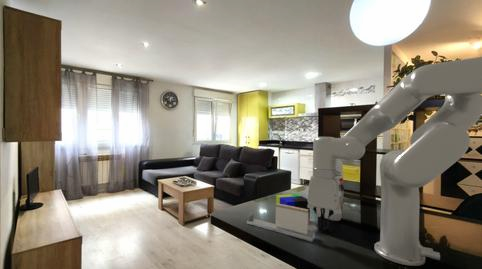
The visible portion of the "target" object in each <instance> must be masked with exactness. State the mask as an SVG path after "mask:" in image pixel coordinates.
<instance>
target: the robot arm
mask: <svg viewBox="0 0 482 269" xmlns="http://www.w3.org/2000/svg"><path fill="white" fill-rule="evenodd" d="M442 95H444V97H445V98H444V103H443V105H442V106H441V107H440V108H439V109H438V110H437V111H436V112H435V113H434V114H433V115H432V116H431V117H430V118H428V119H427V120H426V121H425V122H424V123H423V124H421V125H420V126H419V127H417V128H416V129H415V131H413V133H412V134H411V136H410V139H409V144H410V146H409V147H407V148H406V149H405V150H403V149H397V150H396V149H392V150H390V151H388V152H386V153H385V154H384V155H383V156H382V158H381V159H380V163H379V174H380V175H379V176H380V190H381V192H380V233H379V234H380V235H379V236H380V238H379V241H377V242H376V243H374V251H375V252H376V254H378V255H379V256H380V257H382V258H384V259H386V260H388V261H391V262H394V263H397V264H400V265H405V266H412V267H417V266H422V265H424V264H425V263H426V257H427V258H431V259H432V260H438V261H440V260H441V254H440V252H438V251H434V250H433V248H430V247H425V246H423V245H422V244H421V242H420V239H419V237H420V234H419V233H420V189H419V188H421V187H425V186H426V185H428V184H430V183H431V182H432V181H434V180H436V179H437V178H438V177H439V176H440V175H442V174H443V173H444V172H445V171H447V170H448V169H449V168H450V167H451V166H453V165H454V164H456V162H458V161H460V159H461V158H462V157H463V156H464V155H465V154H466V152H467V151H468V149H469V148H470V142H471V138H470V134H469V133H468V131H469V130H470V129H471V128H472V127H473V126H474V125H475V124H477V122H478V121H479V119H480V118H481V116H482V56H479V57H473V58H472V57H471V58H465V59H458V60H449V61H445V62H442V61H441V62H436V63H431V64H425V65H422V66H419V67H418V68H416V69H414V70H413V71H412V72H409V74H407V75H406V76H404V78H403V79H401V80H400V81H399V82H398V83H397V84H396V85H395V86H394V87H393V88H392V89H391V90H390V91H389V92H387V94H385V96H383V97H382V98H381V99H380V100H379V101H378V102H377V103H376V104H375V105H374V106H372V108H370V110H369V111H367V113H366V114H365V115H363V117H361V119H360V120H359V121H358V122H356V123H355V125H353V127H352V128H350V129H349V130H348V131H347V132H346V133H345V134H344V135H343V136H342V137H333V136H316V137H314V139H313V141H312V142H313V143H312V144H313V145H312V147H313V149H312V175H310V179H309V183H308V190H307V199H308V205H307V207H308V208H310V210H312V211H313V212H314V213H315V214H316V215H317V216H316V217H317V220H318V221H317V223H318V224H317V225H318V226H319V230H323V231H326V229H327V228H329V224H330V221H329V217H330V216H331V215H333V214H340V213H341V209H340V207H341V187H340V181H339V179H338V178H337V176H341V172H339V171H338V170H337V159H341V160H344V161H350V162H351V161H357V160H360V159H361V158H363V156H364V155H365V152H366V146H367V145H368V144H369V143H371V142H372V141H373V140H375V139H376V138H378V136H380V135H382V134H384V133H386V132H388V131H390V130H391V129H392V130H393V128H395V127H396V126H397V125H399V124H400V123H401V122H402V121H403V120H404V119H406V117H408V116H409V115H410V114H411V113H412V112H413V111H414V110H415V109H417V108H418V107H419V106H420V105H421V104H422V103H423V102H425V101H426V100H427V99H428V98H430V97H433V96H442ZM323 209H324V210H323ZM325 209H326V210H325ZM323 211H324V213H323Z"/></svg>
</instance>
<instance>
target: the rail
mask: <svg viewBox="0 0 482 269" xmlns="http://www.w3.org/2000/svg"><path fill="white" fill-rule="evenodd" d="M254 217H255V216H254V213H250V214H248V215H247V216H246V224H247V225H250V226H254V227H258V228H260V229H261V228H262V229H265V230H268V231H272V232H275V233H280V234H283V235H287V236H291V237H294V238H296V239H297V238H298V239H300V240H304V241H308V242H311V243H312V242H313V241H314V240H315V238H316V228H311V229H310V230H308V234H304V233H300V232H296V231H292V230H289V229H285V228H281V227H277V226H275V224H276V223H272V222H268V221H266V220H261V219H258V218H254Z"/></svg>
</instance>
